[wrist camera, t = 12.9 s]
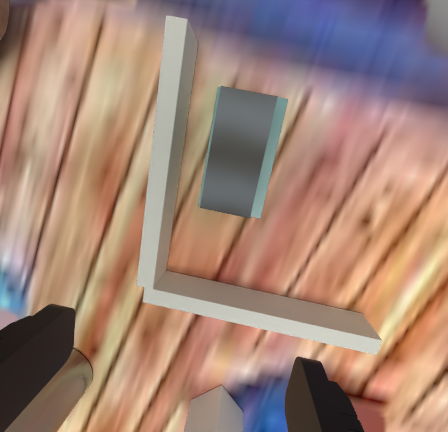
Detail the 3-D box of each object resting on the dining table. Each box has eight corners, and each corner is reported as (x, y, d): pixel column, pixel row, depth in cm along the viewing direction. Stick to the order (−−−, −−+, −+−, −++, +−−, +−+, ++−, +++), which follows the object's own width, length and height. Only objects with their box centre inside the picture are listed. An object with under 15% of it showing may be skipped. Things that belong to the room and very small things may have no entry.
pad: (198, 205, 31) (198, 205, 31) (218, 87, 28) (217, 86, 28) (260, 217, 31) (260, 218, 31) (287, 99, 28) (287, 99, 27)
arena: (150, 280, 35) (134, 300, 30) (180, 40, 27) (166, 15, 23) (357, 326, 33) (376, 354, 28) (447, 86, 26) (492, 69, 21)
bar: (227, 103, 28) (220, 85, 21) (270, 111, 28) (277, 96, 21) (210, 196, 31) (199, 207, 24) (249, 204, 31) (249, 218, 24)
